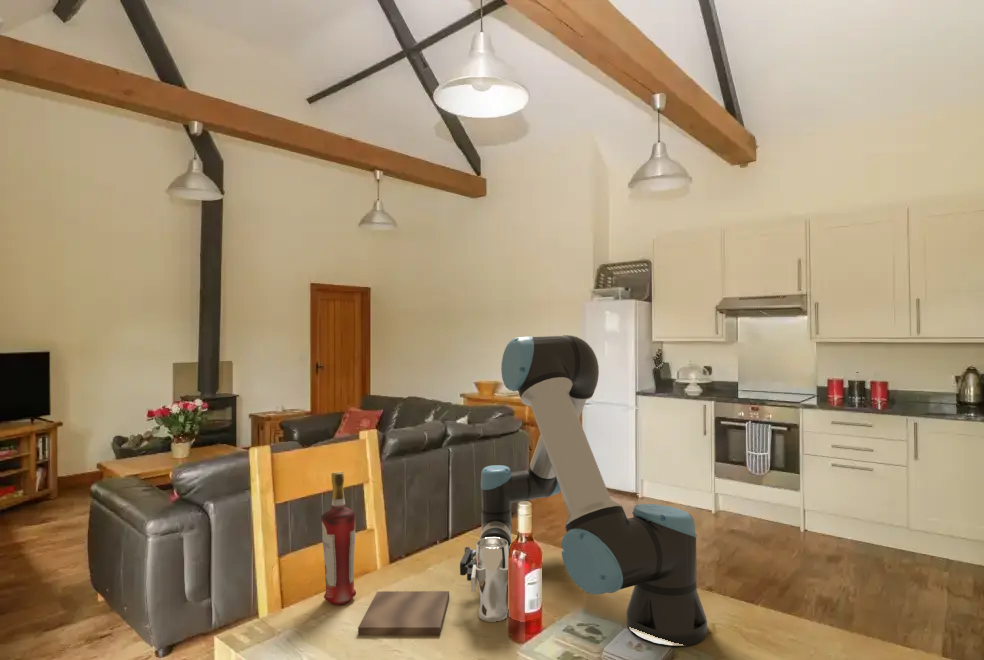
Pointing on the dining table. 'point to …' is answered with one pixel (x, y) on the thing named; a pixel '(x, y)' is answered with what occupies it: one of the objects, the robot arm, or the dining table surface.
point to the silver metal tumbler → (492, 577)
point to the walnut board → (405, 613)
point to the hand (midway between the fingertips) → (491, 584)
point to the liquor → (339, 546)
